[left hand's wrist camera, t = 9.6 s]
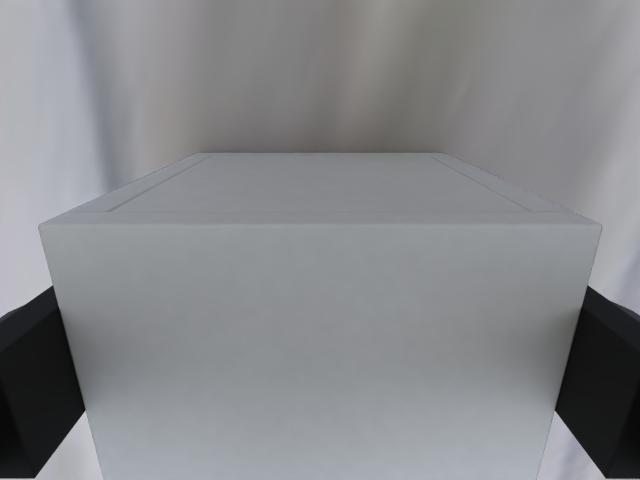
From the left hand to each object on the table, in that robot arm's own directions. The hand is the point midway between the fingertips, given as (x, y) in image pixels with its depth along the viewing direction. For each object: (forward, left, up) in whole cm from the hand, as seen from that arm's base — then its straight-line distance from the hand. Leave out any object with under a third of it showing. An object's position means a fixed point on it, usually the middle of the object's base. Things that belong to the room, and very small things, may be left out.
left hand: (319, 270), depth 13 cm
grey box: (0, +6, -5) cm, 8 cm away
